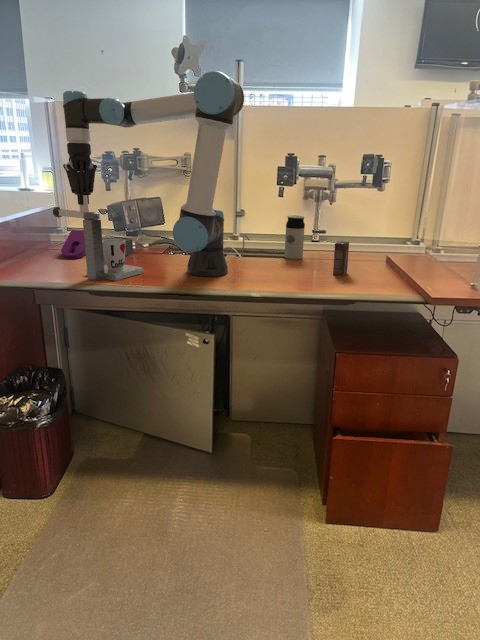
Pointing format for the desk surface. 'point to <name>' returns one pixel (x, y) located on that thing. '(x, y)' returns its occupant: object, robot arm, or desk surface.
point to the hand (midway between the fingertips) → (84, 214)
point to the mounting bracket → (74, 245)
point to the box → (341, 258)
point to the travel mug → (294, 237)
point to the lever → (75, 214)
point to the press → (101, 256)
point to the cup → (114, 253)
